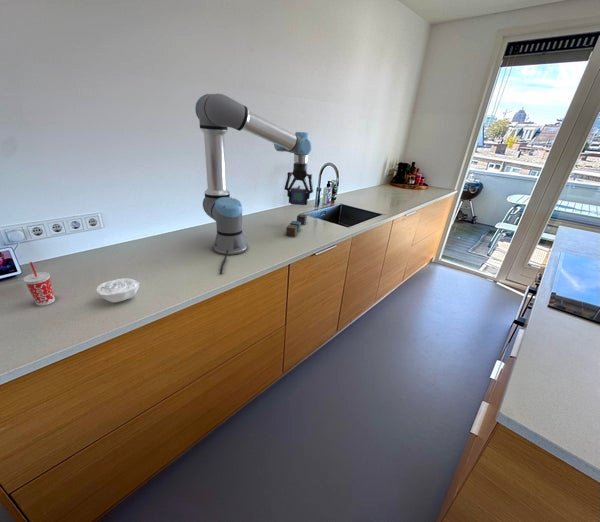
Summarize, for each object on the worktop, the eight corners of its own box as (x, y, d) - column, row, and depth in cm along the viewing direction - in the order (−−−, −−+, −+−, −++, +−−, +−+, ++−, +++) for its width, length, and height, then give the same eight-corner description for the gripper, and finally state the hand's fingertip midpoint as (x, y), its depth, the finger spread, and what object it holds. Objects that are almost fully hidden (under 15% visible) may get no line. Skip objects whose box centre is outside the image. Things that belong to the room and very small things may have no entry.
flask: (305, 204, 168) (307, 185, 163) (305, 205, 165) (307, 186, 160) (290, 203, 168) (291, 184, 163) (289, 204, 165) (290, 185, 161)
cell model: (138, 305, 93) (134, 287, 90) (95, 309, 89) (89, 291, 86) (144, 289, 101) (140, 272, 98) (105, 292, 98) (100, 275, 95)
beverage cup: (30, 308, 88) (13, 268, 82) (37, 297, 93) (21, 259, 87) (55, 305, 90) (40, 265, 84) (60, 294, 95) (47, 256, 89)
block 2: (294, 237, 157) (295, 228, 155) (285, 235, 158) (286, 227, 156) (297, 234, 161) (297, 225, 159) (288, 232, 162) (289, 224, 160)
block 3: (304, 224, 177) (304, 217, 174) (296, 223, 178) (297, 216, 175) (306, 222, 181) (306, 214, 179) (298, 221, 182) (299, 213, 180)
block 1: (298, 232, 163) (298, 224, 161) (289, 231, 164) (290, 223, 162) (300, 230, 168) (300, 221, 166) (292, 228, 169) (292, 220, 167)
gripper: (321, 164, 158) (317, 204, 168) (283, 160, 162) (282, 199, 172) (318, 165, 151) (315, 207, 161) (279, 161, 155) (278, 202, 165)
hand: (298, 203), depth 166 cm, fingers closed on flask, 9 cm apart
